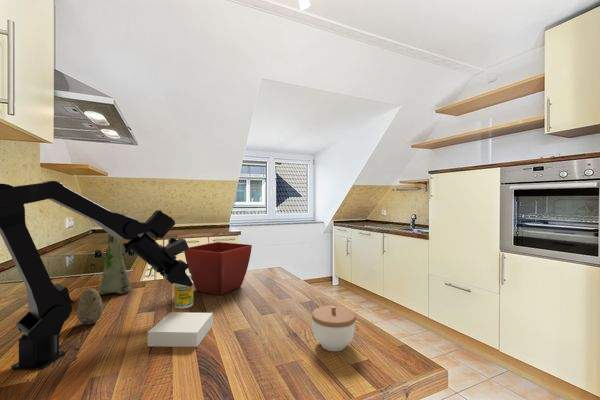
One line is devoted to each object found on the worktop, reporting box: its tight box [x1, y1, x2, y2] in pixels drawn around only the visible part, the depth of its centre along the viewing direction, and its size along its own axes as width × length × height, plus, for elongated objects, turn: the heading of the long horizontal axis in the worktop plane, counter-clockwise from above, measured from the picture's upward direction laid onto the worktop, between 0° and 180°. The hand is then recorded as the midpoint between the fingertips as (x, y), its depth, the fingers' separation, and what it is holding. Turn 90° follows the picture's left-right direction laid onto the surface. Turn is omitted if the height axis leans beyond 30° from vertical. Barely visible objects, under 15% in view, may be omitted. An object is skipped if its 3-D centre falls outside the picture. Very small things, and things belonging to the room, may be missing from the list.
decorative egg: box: [76, 287, 104, 325], centre depth 82 cm, size 6×6×10 cm
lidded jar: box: [311, 305, 357, 352], centre depth 71 cm, size 11×11×9 cm
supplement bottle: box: [174, 272, 194, 310], centre depth 89 cm, size 5×5×10 cm
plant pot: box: [183, 241, 253, 296], centre depth 115 cm, size 19×19×17 cm
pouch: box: [98, 233, 132, 295], centre depth 109 cm, size 11×12×25 cm
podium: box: [147, 311, 214, 348], centre depth 76 cm, size 12×12×4 cm
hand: (188, 283), depth 90 cm, fingers closed on supplement bottle, 5 cm apart
